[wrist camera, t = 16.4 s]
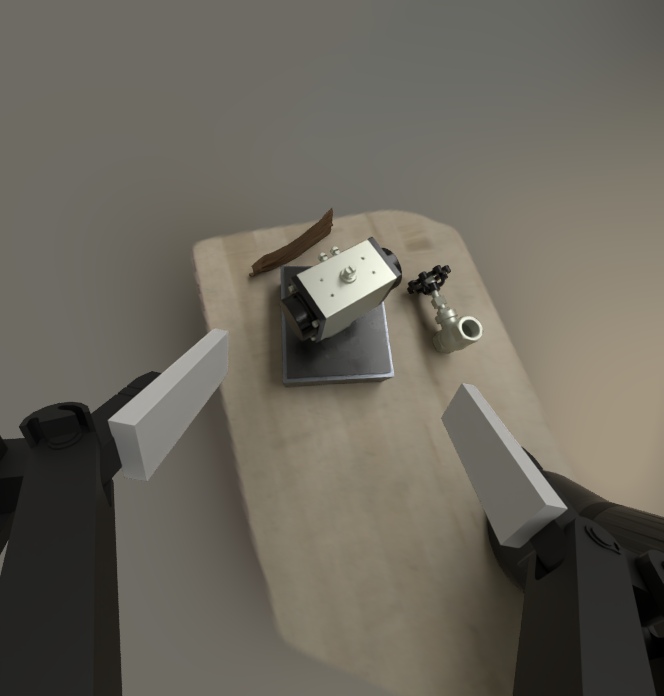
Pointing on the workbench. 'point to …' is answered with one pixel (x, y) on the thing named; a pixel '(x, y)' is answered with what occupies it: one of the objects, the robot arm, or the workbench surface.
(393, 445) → the workbench surface
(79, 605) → the robot arm
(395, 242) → the workbench surface
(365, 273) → the pneumatic valve
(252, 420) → the workbench surface
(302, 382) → the stand
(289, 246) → the wood plank
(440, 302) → the valve
